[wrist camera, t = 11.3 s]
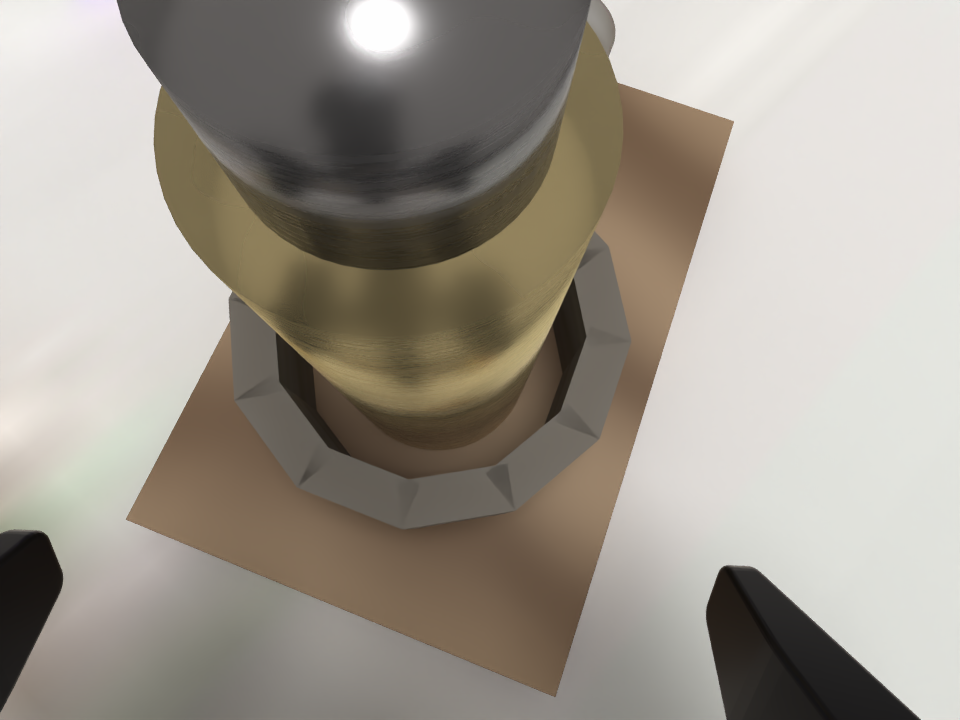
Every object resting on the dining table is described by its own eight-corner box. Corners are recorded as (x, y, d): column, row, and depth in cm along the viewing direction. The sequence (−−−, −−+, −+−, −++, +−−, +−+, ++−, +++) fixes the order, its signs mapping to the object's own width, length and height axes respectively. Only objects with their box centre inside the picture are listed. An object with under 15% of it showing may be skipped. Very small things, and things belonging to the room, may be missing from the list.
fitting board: (546, 681, 16) (581, 747, 12) (154, 519, 17) (33, 517, 12) (715, 149, 21) (790, 37, 16) (398, 42, 22) (380, -94, 17)
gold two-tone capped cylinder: (559, 390, 17) (827, 38, 4) (406, 485, 16) (196, 393, 4) (467, 251, 18) (467, -365, 5) (319, 334, 17) (-86, -150, 5)
